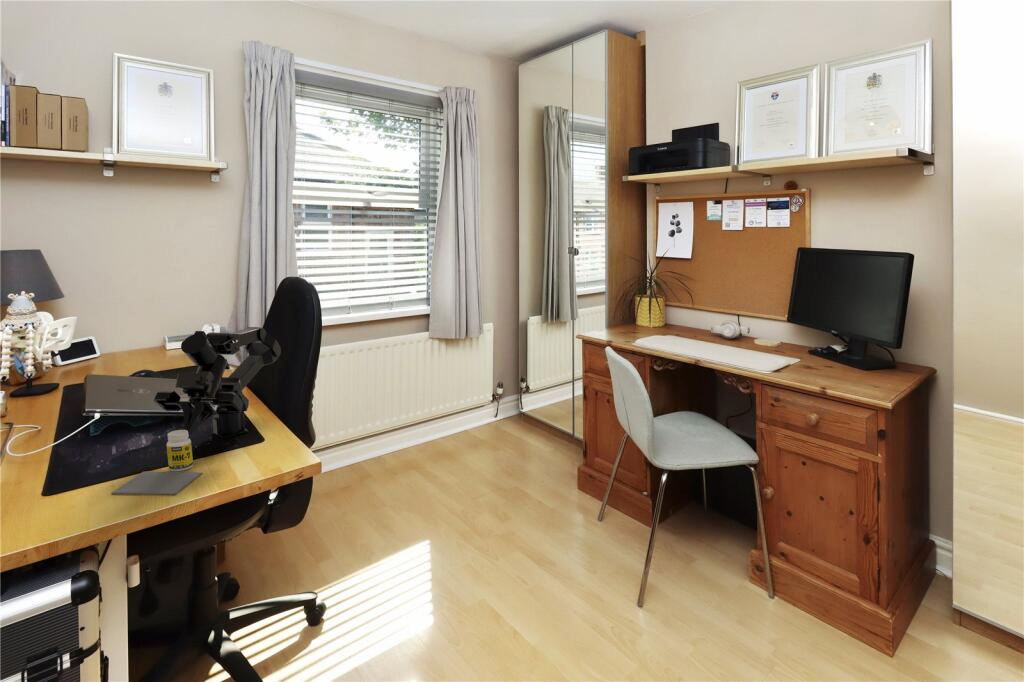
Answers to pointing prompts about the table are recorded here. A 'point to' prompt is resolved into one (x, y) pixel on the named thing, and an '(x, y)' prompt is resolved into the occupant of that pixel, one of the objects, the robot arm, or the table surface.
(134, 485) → the mat
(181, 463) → the supplement bottle
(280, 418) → the table surface
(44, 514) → the table surface
